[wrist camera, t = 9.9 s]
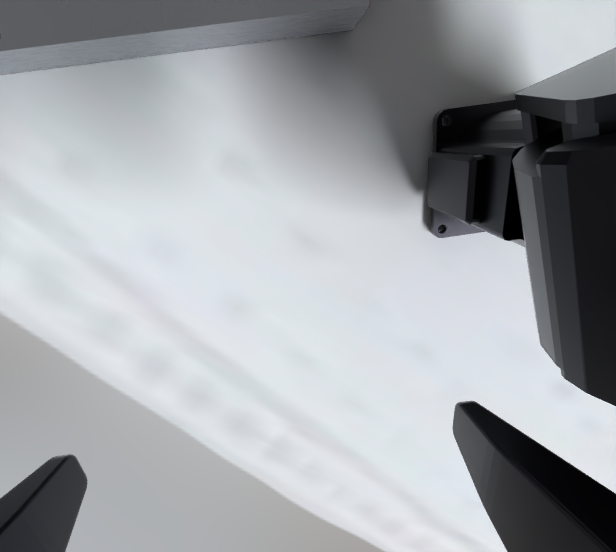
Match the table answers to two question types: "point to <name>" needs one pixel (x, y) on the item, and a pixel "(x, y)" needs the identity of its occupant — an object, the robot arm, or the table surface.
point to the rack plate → (154, 27)
